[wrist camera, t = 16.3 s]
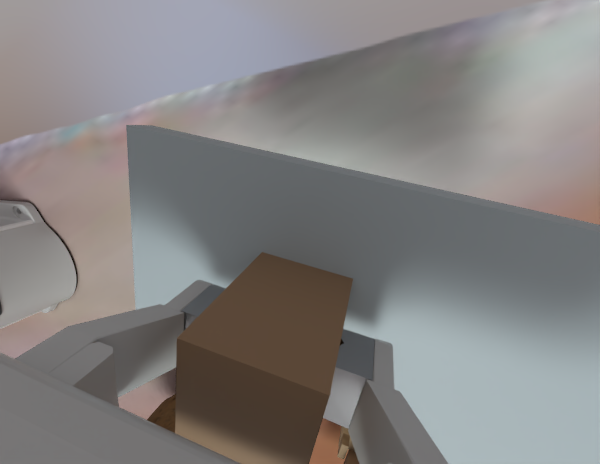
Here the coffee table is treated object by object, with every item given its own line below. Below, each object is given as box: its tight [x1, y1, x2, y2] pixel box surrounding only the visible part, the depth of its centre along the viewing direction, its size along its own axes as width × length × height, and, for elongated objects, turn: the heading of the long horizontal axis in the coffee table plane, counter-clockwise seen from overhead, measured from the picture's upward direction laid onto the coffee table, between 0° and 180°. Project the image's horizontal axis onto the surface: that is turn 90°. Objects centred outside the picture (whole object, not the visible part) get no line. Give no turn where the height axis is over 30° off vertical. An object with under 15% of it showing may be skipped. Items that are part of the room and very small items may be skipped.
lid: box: [126, 125, 600, 464], centre depth 8 cm, size 18×10×6 cm, turn 79°
